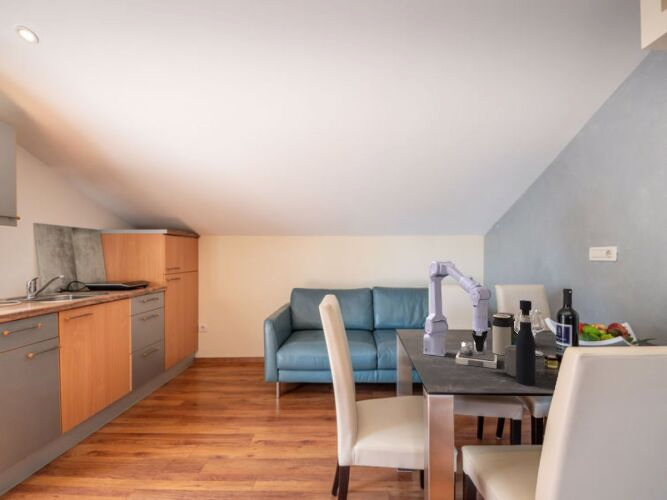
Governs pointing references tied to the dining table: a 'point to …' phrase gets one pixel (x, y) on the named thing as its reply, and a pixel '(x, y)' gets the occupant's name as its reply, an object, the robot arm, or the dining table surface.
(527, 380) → the black water bottle
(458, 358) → the cream u-shaped bracket
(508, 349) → the grey upright block
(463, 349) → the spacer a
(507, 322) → the travel mug
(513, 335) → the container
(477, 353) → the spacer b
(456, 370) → the dining table surface
